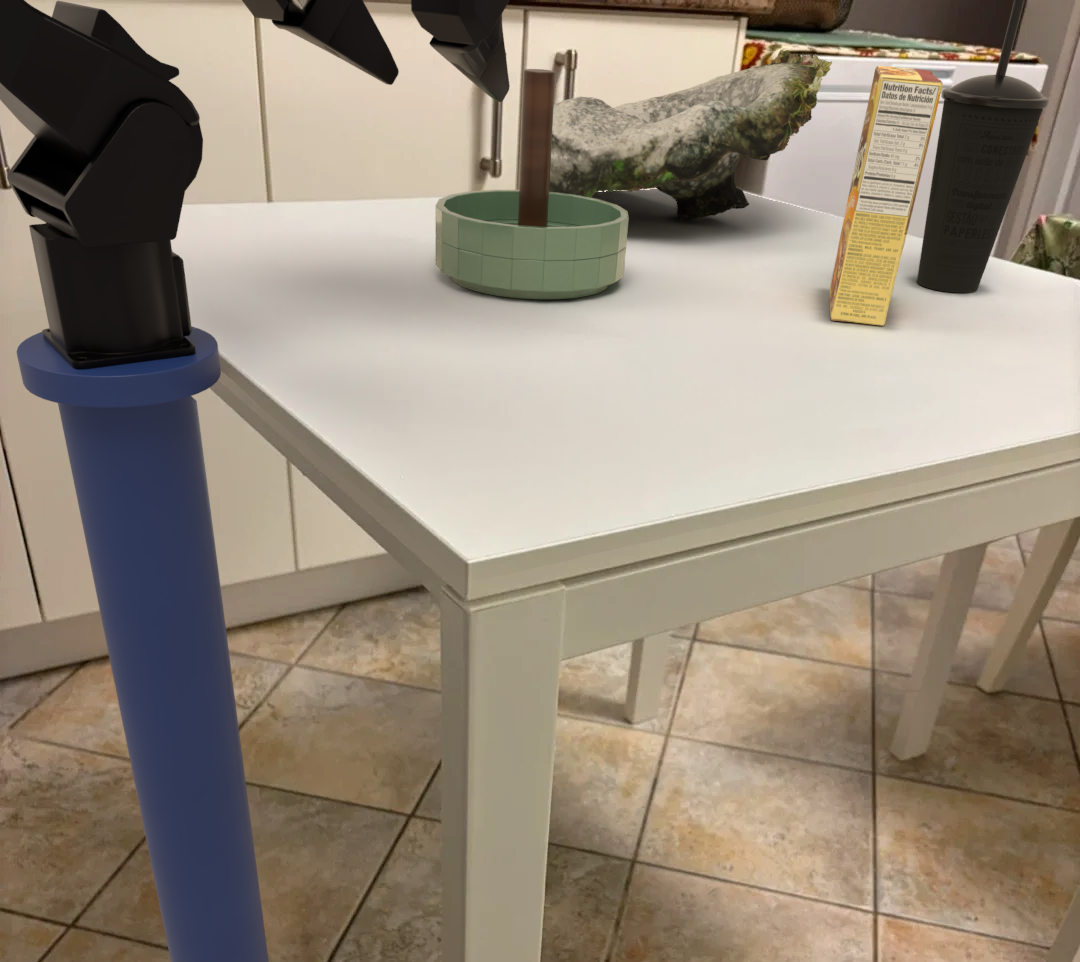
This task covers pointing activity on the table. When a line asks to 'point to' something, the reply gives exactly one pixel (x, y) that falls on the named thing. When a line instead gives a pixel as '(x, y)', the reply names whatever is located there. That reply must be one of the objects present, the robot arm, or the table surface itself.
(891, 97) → the candy box
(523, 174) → the brown wooden peg
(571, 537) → the table surface
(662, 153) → the mossy rock
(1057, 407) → the table surface
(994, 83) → the drinking cup
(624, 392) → the table surface
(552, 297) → the mixing bowl
